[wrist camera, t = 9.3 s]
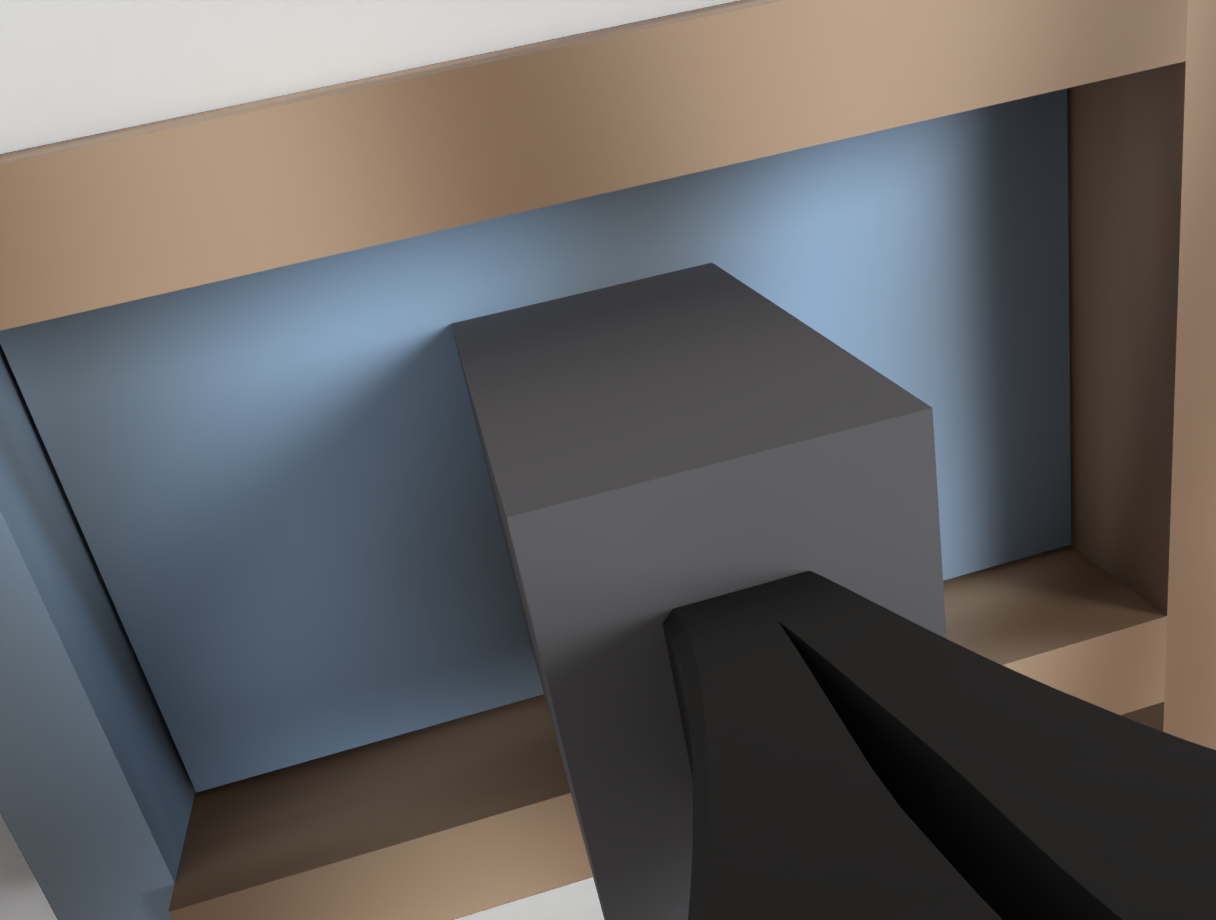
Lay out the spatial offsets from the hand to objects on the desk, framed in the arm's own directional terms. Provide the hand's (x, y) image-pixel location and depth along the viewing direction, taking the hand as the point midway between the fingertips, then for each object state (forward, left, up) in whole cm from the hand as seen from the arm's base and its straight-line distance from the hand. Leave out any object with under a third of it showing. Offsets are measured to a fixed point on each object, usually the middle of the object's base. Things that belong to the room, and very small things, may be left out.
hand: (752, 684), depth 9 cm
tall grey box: (0, 0, -6) cm, 6 cm away
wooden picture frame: (0, +5, -6) cm, 8 cm away
